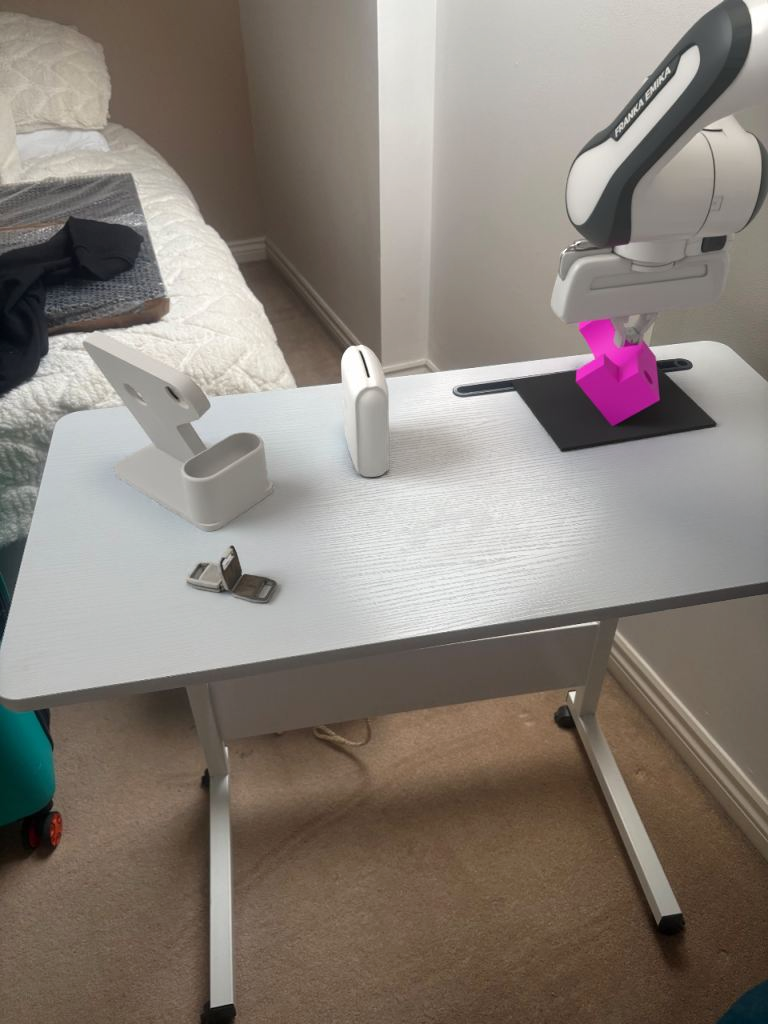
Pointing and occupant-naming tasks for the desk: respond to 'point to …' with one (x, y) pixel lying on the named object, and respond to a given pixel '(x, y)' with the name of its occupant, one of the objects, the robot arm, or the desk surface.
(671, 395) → the mat
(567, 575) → the desk surface
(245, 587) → the strap clip
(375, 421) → the photo printer
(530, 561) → the desk surface
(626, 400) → the toy block
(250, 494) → the phone holder
